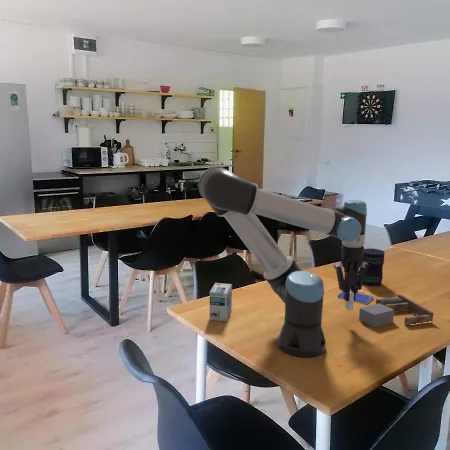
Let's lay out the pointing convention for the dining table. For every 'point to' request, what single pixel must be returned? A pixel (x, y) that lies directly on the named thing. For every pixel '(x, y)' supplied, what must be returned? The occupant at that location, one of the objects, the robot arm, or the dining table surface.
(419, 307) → the rack
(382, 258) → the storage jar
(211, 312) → the light bulb box
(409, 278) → the dining table surface
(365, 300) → the hard drive
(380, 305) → the plain gray cuboid
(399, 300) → the plain gray cylinder
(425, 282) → the dining table surface
